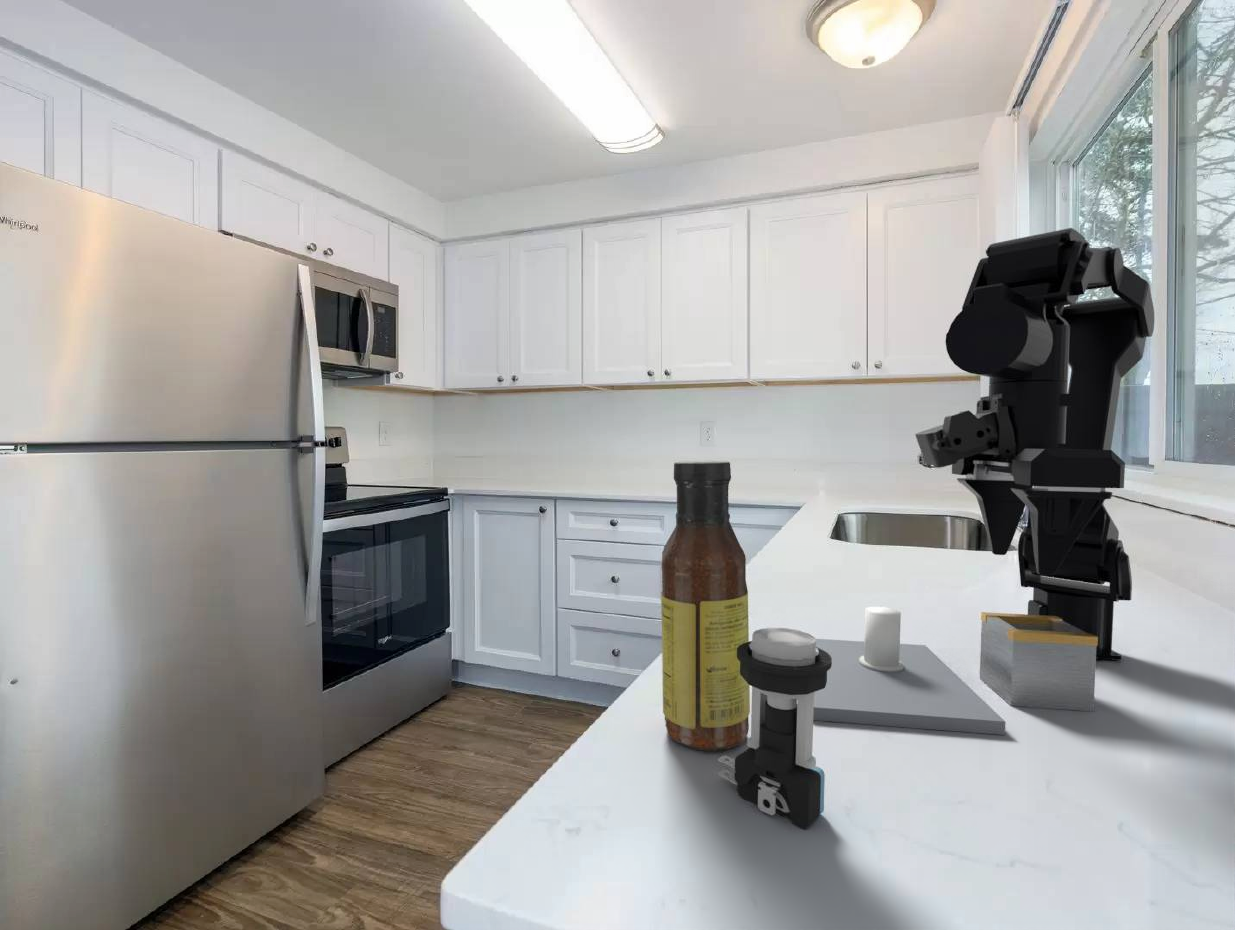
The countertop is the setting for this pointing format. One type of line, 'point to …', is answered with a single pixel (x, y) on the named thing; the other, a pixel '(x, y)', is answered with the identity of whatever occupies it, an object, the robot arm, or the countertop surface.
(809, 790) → the push button
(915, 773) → the countertop surface
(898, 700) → the panel
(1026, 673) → the open cube shelf
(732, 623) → the sauce bottle
